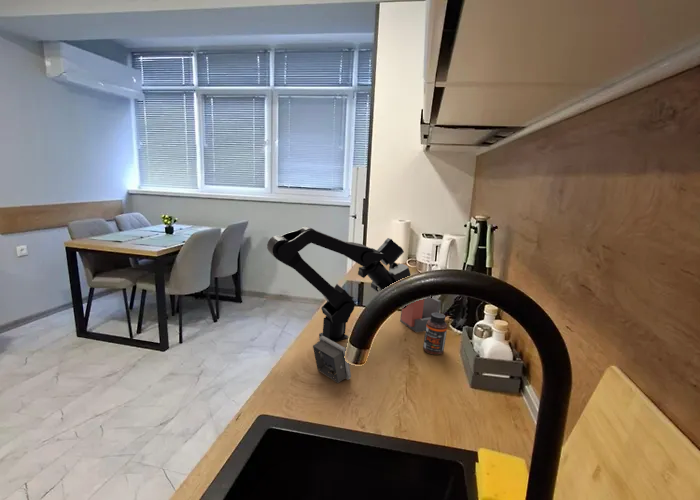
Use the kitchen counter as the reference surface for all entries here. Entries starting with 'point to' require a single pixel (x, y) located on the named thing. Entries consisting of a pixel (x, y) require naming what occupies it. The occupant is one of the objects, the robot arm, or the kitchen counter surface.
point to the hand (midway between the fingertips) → (405, 305)
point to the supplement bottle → (435, 334)
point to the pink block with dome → (412, 312)
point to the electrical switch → (331, 359)
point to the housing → (425, 314)
